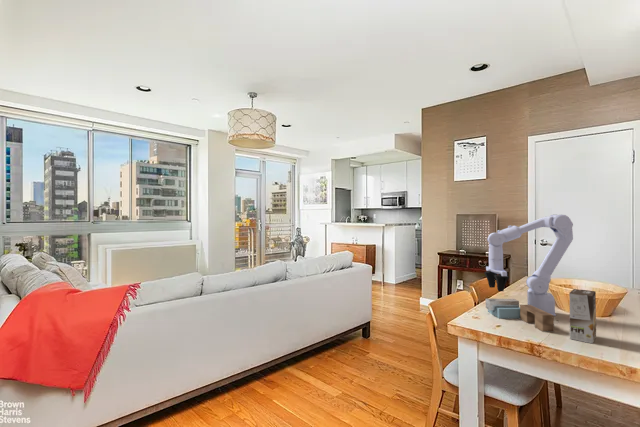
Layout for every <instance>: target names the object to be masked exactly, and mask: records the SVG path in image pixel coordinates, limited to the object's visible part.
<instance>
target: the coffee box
mask: <svg viewBox="0 0 640 427" xmlns="http://www.w3.org/2000/svg"><path fill="white" fill-rule="evenodd" d="M596 299H597V296H596V291H595V290H588V289H577V288H572V290H571V291H569V339H570V340H573V341H580V342H583V343H584V342H585V343H589V344H594V341H595V339H596V338H597V307H596V306H597V304H596V302H597V301H596Z"/></svg>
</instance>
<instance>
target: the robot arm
mask: <svg viewBox="0 0 640 427" xmlns="http://www.w3.org/2000/svg"><path fill="white" fill-rule="evenodd" d="M573 227H574V223H573V221H572V220H571V218H570V217H569V216H568V215H566V214H550V215H548V216H543V217H540V218H538V219H534V220H533V221H530V222H527V223H525V224H522V225H520V226H517V225H507V227H506V228H503V229H501V230H500V229H498V230H497V231H496V232H491V233H490V234H489V235H488V237H487V238H486V239H487V243H488V266H487V265H486V266H485V270H486V271H484V272H483V274H484V276H485V277H486V279H487V283H488V287H489V288H491V289H492V288H495V287H496V288H497V291H498V292H504V291H505V287H506V284H507V282H508V280H509V279H510V276H509V275H508V271H507V270H505V269H504V249H503V244H504V243H509V242H510V241H513V240H516V239H519V238H521V237H522V235H523V234H524V233H527V232H531V231H534V230H537V229H540V228H549V229H551V231H553V234H554V235H555V237H556V238H555V240H554V242H553V243H552V245H551V247H550V249H549V250H548V252H547V254H545V257H544V259H543V260H542V262H541V264H540V265H539V267H538V268H537V269H536V270H535V271H534V272H533V273H532V274H531V275H530V276H528V277H527V279H526V281H525V282H526V283H525V284H526V286H527V287H528V289H527V290H526V292H527V295H526V296H527V300H526V301H527V305H532V306H534V307H536V308H538V309H541V310H543V311H545V312H547V313H550V314H552V315H554V316H557V314H556V304H555V303H556V302H555V297H554V294H552V293H550V292H548V291H549V288H550V286H549V285H550V282H551V280H552V279H551V278H552V274H553V273H554V271H555V269H556V268H557V266H558V264H559V263H560V262H561V260H562V258H563V256H564V255H565V253H566V251H567V250H568V248H569V247H570V245H571V243H572V242H573V240H574V233H573Z"/></svg>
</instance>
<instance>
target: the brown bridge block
mask: <svg viewBox="0 0 640 427" xmlns="http://www.w3.org/2000/svg"><path fill="white" fill-rule="evenodd" d="M519 307H520V318H519V320H521V321H522V322H524V323H526V324H534V328H535V329H537V330H539V331H541V332H543V331H550V332H551V331H554V332H555V327H554V326H555V322H554V318H555V317H554V315H552V314H550V313H547V312H545V311H543V310H541V309H538V308H536V307H534V306H532V305H528V304H519Z"/></svg>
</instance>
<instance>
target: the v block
mask: <svg viewBox="0 0 640 427" xmlns="http://www.w3.org/2000/svg"><path fill="white" fill-rule="evenodd" d="M487 312H488V313H489V314H491V315H493V316H494V317H496V318H497V319H499V320H500V319H501V320H502V319H520V306H519V307H510V308H497V310H488V309H487Z"/></svg>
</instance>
